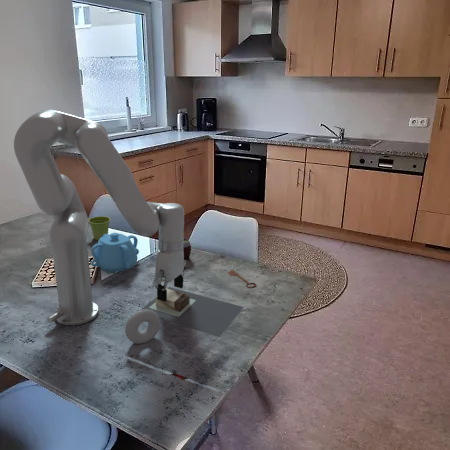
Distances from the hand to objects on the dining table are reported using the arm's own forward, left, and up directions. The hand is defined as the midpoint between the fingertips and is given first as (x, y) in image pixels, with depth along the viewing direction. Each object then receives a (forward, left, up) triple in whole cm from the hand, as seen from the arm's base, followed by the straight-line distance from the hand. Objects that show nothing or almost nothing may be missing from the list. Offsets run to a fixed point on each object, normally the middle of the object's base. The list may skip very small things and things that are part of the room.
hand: (170, 293), depth 130 cm
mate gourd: (+32, +15, -5) cm, 36 cm away
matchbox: (-28, -20, -5) cm, 34 cm away
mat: (0, -8, -4) cm, 9 cm away
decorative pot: (+14, +33, -5) cm, 37 cm away
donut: (-20, -4, -5) cm, 20 cm away
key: (+27, -13, -5) cm, 31 cm away
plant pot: (+34, +58, -5) cm, 68 cm away
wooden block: (0, -1, -4) cm, 4 cm away
